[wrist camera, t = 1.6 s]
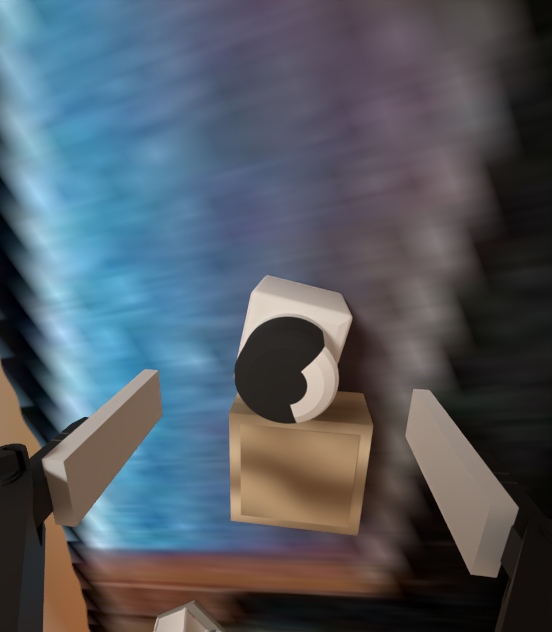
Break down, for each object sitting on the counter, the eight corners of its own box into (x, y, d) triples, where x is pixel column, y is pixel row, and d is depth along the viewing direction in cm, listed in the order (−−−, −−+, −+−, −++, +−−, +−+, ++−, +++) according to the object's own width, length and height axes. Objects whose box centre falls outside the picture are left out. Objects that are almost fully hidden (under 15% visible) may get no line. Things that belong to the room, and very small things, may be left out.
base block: (241, 383, 31) (228, 413, 26) (363, 393, 30) (373, 426, 25) (241, 479, 34) (230, 521, 29) (350, 490, 33) (357, 537, 28)
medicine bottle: (249, 345, 29) (211, 421, 18) (265, 273, 27) (234, 309, 16) (321, 363, 29) (329, 453, 18) (343, 293, 27) (368, 343, 16)
